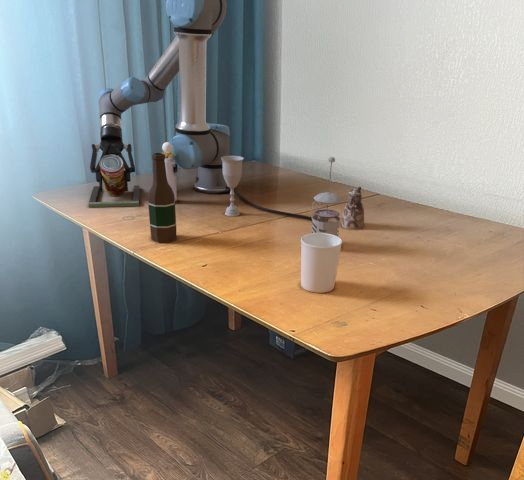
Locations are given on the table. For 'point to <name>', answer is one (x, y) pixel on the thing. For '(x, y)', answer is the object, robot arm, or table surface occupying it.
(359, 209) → the figurine
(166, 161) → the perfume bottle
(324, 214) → the french press
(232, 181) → the chalice
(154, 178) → the beer bottle
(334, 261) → the white cup
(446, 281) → the table surface
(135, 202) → the tray
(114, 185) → the canned food
